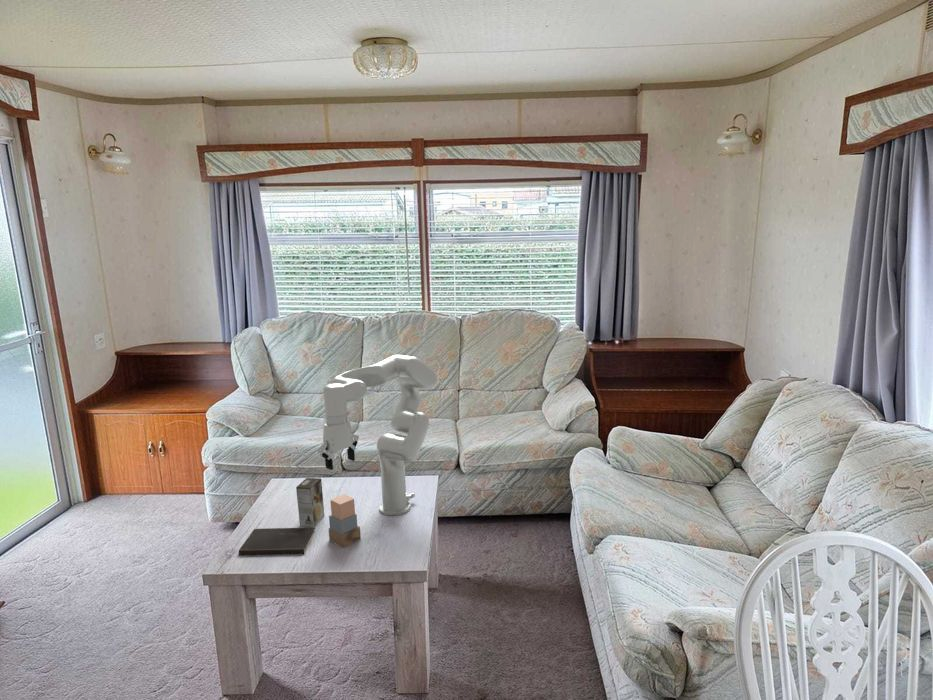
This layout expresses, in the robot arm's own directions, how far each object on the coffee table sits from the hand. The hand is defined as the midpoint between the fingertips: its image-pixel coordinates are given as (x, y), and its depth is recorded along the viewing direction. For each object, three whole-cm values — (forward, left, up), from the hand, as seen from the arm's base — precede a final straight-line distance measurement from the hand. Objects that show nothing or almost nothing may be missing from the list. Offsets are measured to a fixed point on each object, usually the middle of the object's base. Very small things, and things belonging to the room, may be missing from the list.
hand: (340, 464), depth 212 cm
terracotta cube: (+1, +1, -19) cm, 19 cm away
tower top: (+1, +1, -24) cm, 24 cm away
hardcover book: (+18, -17, -30) cm, 38 cm away
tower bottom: (+1, +1, -29) cm, 29 cm away
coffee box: (0, -21, -29) cm, 36 cm away
